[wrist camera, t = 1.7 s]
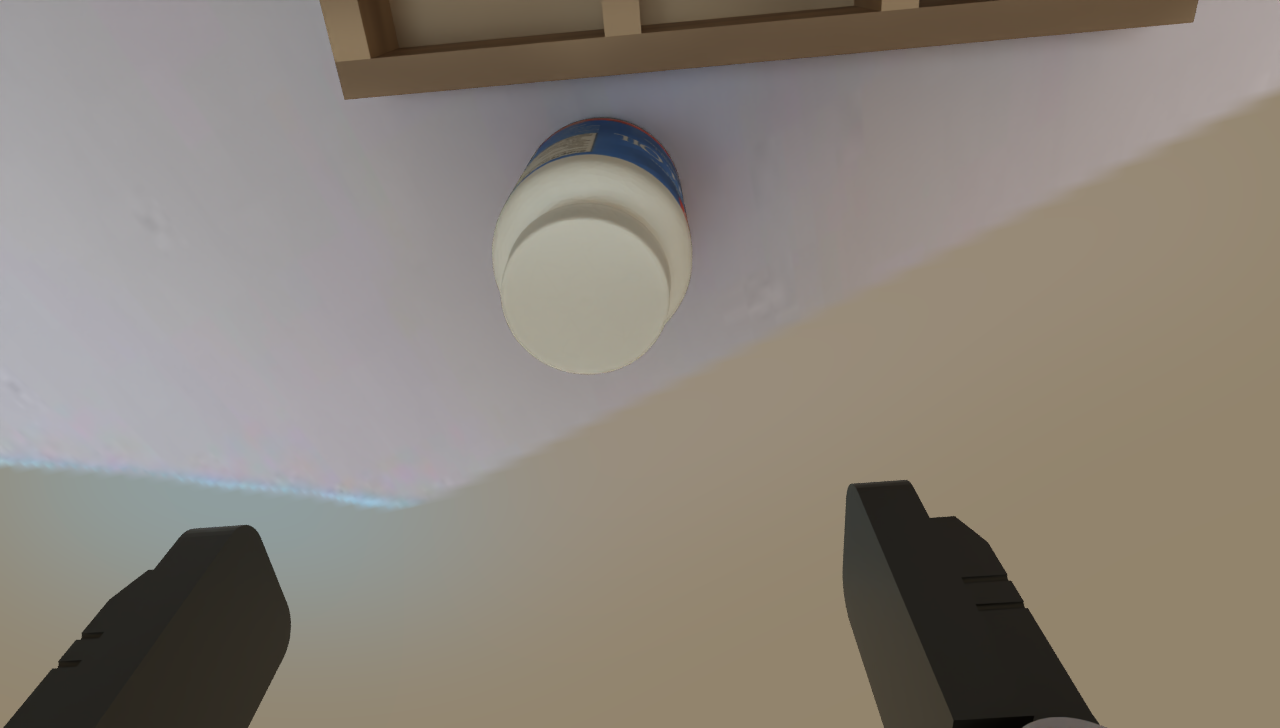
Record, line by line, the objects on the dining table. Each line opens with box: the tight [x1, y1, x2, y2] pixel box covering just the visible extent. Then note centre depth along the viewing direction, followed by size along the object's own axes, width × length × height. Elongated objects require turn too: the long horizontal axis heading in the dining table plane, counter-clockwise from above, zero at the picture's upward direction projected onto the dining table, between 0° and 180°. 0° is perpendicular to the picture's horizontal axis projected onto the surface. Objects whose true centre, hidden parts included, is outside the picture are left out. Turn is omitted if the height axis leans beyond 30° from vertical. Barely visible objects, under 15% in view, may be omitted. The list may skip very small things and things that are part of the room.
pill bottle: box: [492, 118, 692, 374], centre depth 22 cm, size 6×5×10 cm
